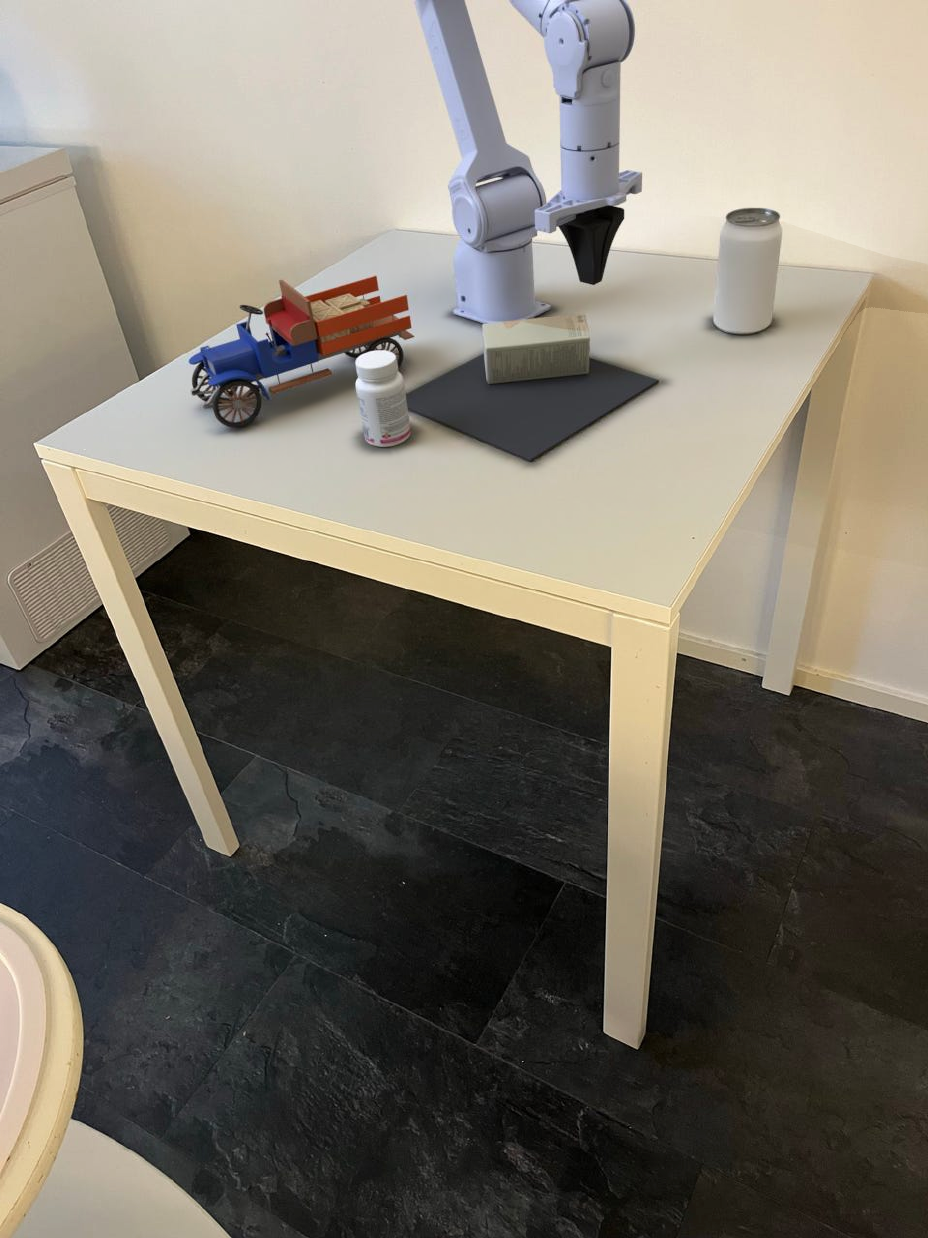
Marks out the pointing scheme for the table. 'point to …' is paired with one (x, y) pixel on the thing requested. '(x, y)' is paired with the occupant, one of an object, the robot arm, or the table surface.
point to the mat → (525, 404)
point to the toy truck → (297, 343)
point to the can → (747, 270)
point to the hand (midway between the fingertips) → (590, 281)
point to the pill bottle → (382, 399)
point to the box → (536, 348)
